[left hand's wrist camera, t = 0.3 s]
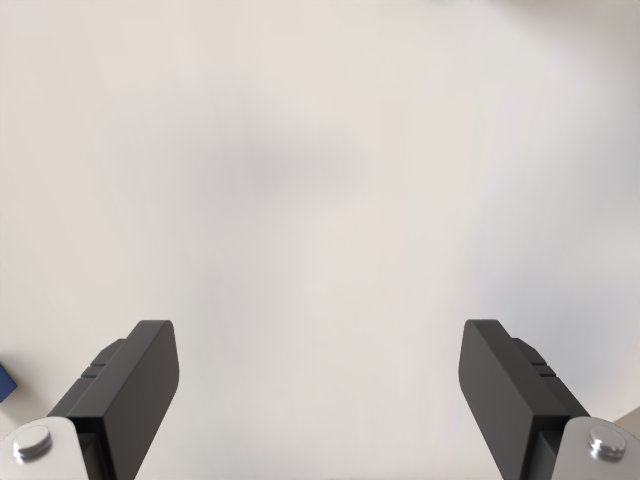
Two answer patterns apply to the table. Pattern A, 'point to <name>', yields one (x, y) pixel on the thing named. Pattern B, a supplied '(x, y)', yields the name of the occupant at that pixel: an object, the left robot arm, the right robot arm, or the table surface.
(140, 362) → the left robot arm
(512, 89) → the table surface
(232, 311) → the table surface
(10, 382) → the brick
